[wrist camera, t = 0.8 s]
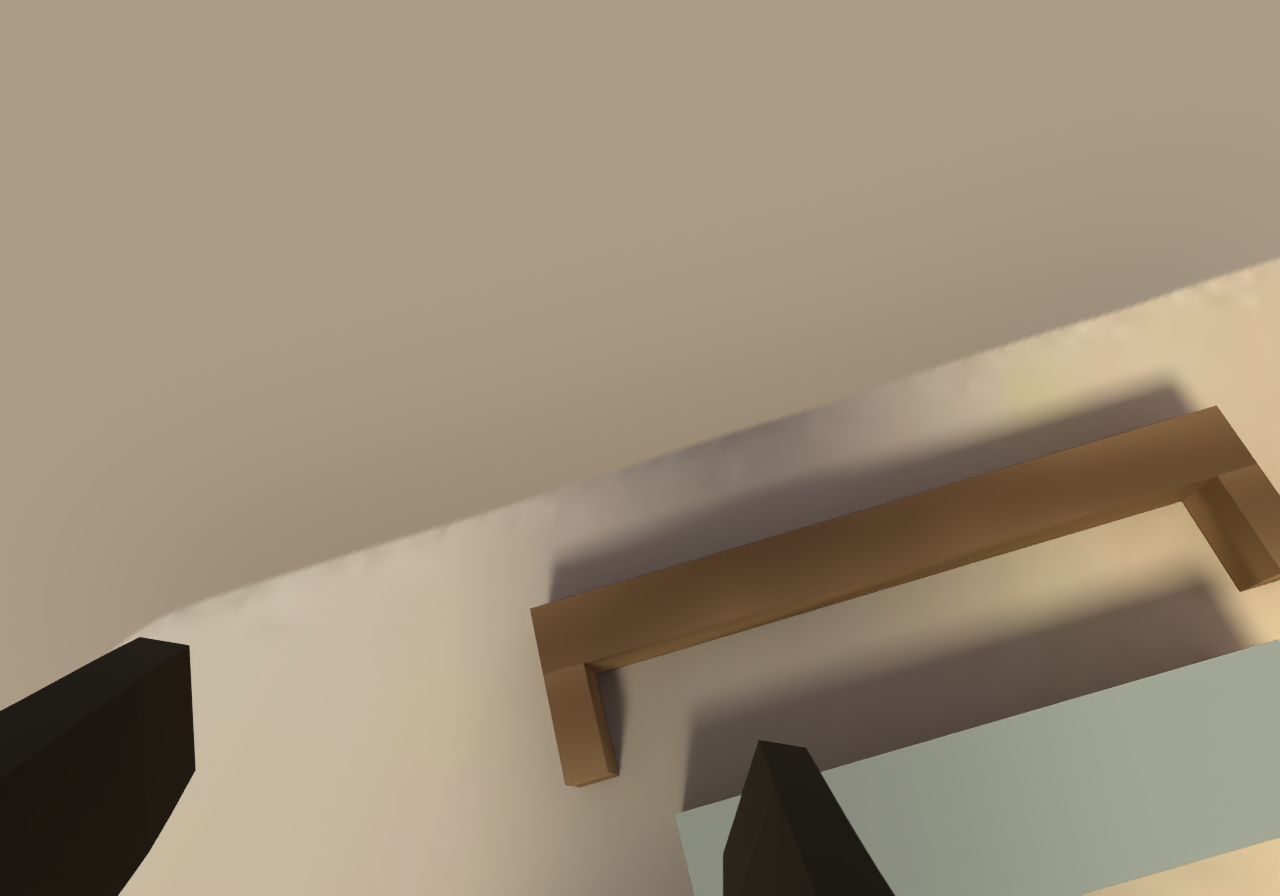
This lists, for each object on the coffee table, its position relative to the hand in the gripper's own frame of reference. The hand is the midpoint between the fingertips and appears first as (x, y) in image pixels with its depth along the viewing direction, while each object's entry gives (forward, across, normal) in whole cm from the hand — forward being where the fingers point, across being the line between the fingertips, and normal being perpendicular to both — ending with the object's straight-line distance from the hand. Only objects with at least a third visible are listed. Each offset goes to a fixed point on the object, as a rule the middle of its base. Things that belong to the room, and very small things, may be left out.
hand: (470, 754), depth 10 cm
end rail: (+13, -11, +4) cm, 17 cm away
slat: (+9, -13, +8) cm, 18 cm away
